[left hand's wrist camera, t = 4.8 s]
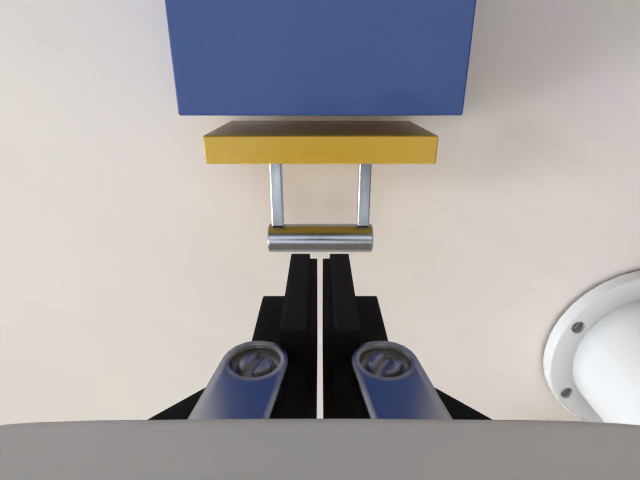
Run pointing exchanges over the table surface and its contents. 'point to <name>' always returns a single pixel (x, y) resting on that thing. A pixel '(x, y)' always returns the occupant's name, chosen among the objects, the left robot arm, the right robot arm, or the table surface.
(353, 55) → the blue box
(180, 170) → the table surface
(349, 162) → the drawer
